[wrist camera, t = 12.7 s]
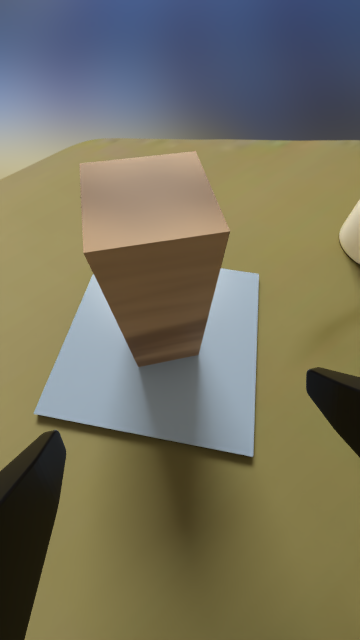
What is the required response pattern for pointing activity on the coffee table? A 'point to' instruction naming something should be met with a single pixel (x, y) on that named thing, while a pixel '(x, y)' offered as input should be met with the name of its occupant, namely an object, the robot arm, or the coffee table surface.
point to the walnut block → (154, 249)
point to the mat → (163, 375)
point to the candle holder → (351, 234)
